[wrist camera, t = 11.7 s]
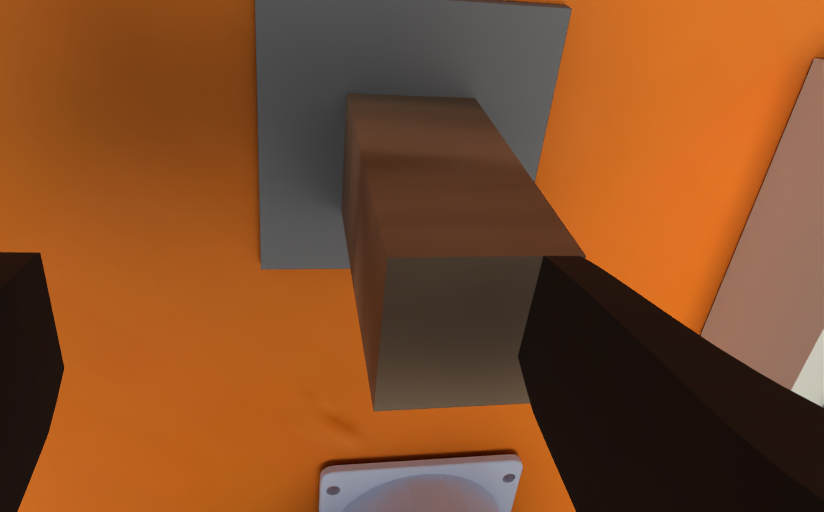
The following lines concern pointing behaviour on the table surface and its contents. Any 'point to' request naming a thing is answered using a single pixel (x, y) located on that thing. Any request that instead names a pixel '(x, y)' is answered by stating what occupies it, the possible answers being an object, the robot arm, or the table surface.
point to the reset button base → (782, 261)
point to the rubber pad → (384, 75)
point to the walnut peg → (441, 250)
